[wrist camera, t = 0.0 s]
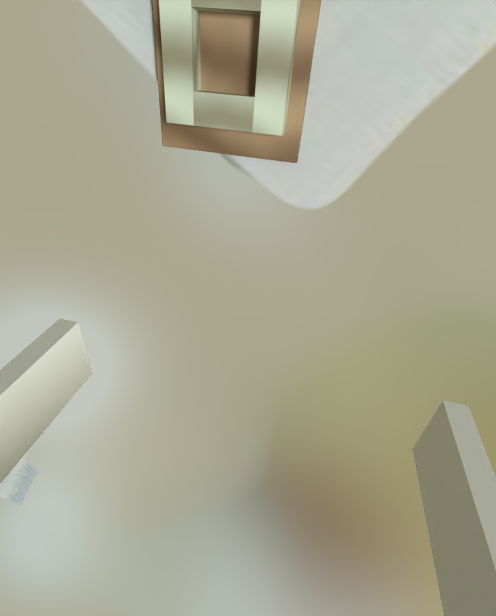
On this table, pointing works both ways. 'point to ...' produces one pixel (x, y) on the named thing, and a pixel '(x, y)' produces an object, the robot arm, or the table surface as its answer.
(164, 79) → the jig
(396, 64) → the table surface
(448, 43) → the table surface
